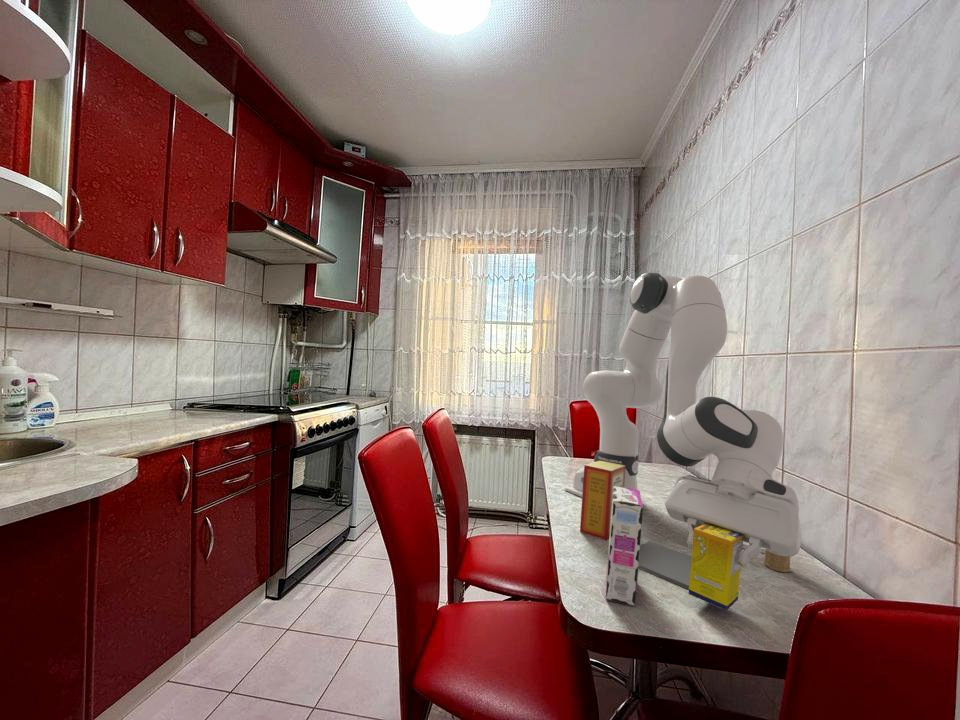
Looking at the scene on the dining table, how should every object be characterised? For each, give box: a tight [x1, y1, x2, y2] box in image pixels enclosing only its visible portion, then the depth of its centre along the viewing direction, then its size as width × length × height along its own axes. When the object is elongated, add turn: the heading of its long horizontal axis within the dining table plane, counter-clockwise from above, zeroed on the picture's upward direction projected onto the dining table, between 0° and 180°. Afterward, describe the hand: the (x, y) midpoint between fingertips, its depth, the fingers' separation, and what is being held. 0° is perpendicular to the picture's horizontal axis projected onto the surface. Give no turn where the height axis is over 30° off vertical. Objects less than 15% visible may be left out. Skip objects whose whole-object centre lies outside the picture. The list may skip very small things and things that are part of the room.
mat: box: [638, 540, 692, 590], centre depth 85 cm, size 15×14×1 cm
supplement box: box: [688, 523, 743, 611], centre depth 69 cm, size 6×6×11 cm
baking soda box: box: [579, 461, 626, 541], centre depth 101 cm, size 10×6×16 cm
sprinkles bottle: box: [763, 549, 791, 573], centre depth 87 cm, size 5×5×14 cm
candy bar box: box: [605, 486, 644, 607], centre depth 74 cm, size 11×5×16 cm, turn 162°
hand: (715, 555), depth 69 cm, fingers closed on supplement box, 6 cm apart
